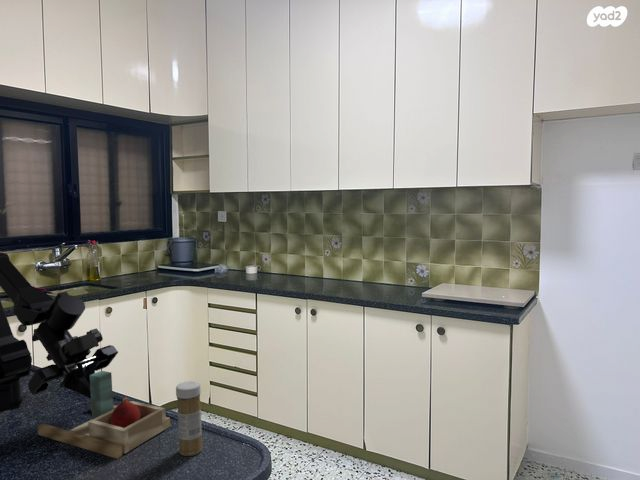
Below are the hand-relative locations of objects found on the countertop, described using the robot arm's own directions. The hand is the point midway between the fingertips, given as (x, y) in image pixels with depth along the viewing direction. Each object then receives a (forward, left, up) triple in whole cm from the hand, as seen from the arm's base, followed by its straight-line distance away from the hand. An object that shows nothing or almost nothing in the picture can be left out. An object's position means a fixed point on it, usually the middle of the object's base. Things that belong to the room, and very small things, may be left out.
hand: (96, 398), depth 101 cm
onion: (+5, +6, -7) cm, 11 cm away
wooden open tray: (+4, +4, -6) cm, 9 cm away
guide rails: (+2, +2, -7) cm, 7 cm away
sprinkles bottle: (+16, +19, -7) cm, 26 cm away
